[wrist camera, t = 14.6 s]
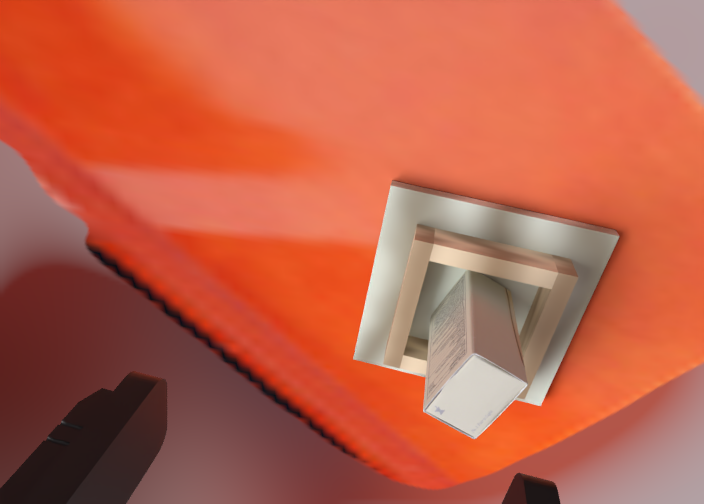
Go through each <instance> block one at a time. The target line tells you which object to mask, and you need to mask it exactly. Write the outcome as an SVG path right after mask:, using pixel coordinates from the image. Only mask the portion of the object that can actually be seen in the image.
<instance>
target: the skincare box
mask: <svg viewBox="0 0 704 504" xmlns="http://www.w3.org/2000/svg"><path fill="white" fill-rule="evenodd" d="M527 385H528V382H527V376H526V371H525V366H524V360H523V355H522V349H521V344H520V339H519V333H518V327H517V322H516V317H515V311H514V306H513V301H512V295H511V292H510V291H509V290H508V289H506V288H505V287H503V286H501V285H500V284H498V283H496V282H495V281H493V280H491V279H490V278H488V277H486V276H485V275H483V274H481V273H479V272H475V271H470V270H466V272H465V273H464V274H463V275H462V276H461V278H460V279H459V280H458V281H457V282H456V284H455V285H454V286H453V288H452V289H451V290H450V291H449V293H448V294H447V295H446V296H445V298H444V299H443V300H442V302H441V303H440V304H439V305H438V307H437V308H436V310H435V311H434V312H433V314H432V315H431V318H430V331H429V343H428V356H427V368H426V381H425V394H424V405H423V412H425V413H427V414H429V415H431V416H432V417H434V418H436V419H438V420H439V421H441V422H443V423H445V424H447V425H449V426H450V427H452V428H454V429H456V430H458V431H460V432H461V433H463V434H465V435H467V436H469V437H471V438H473V439H476V438H477V437H478V436H479V435H480V434H481V433H482V432H483V431H484V430H486V429H487V428H488V427H489V426H490V425H491V424H492V423H493V421H495V420H496V419H497V418H498V417H499V416H500V414H501V413H502V412H503V411H504V410H505V409H506V408H507V407H508V406H509V405H510V404H511V403H512V402H513V401H514V400H515V399H516V398H517V397H518V396H519V394H520V393H521V392H522V391H523V390H524V389H525V388H526V387H527Z"/></svg>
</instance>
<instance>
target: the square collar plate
mask: <svg viewBox="0 0 704 504" xmlns="http://www.w3.org/2000/svg"><path fill="white" fill-rule="evenodd" d="M619 237H620V236H619V235H618V233H617V232H616V230H614V229H609V228H605V227H600V226H596V225H591V224H587V223H582V222H578V221H573V220H569V219H564V218H559V217H555V216H550V215H546V214H541V213H537V212H532V211H528V210H523V209H519V208H514V207H510V206H505V205H501V204H496V203H492V202H487V201H483V200H478V199H474V198H469V197H465V196H460V195H456V194H451V193H447V192H442V191H438V190H433V189H429V188H424V187H420V186H415V185H411V184H406V183H402V182H397V181H393V180H392V183H391V187H390V191H389V196H388V201H387V205H386V210H385V215H384V219H383V224H382V228H381V233H380V238H379V242H378V247H377V251H376V256H375V261H374V265H373V270H372V275H371V279H370V284H369V288H368V293H367V298H366V302H365V307H364V311H363V316H362V321H361V325H360V330H359V335H358V339H357V344H356V348H355V353H354V358H353V359H355V360H359V361H363V362H367V363H371V364H375V365H379V366H383V367H387V368H391V369H395V370H399V371H403V372H407V373H411V374H415V375H419V376H423V377H426V368H427V356H428V343H429V331H430V318H431V315H432V314H433V312H434V311H435V310H436V308H437V307H438V305H439V304H440V303H441V302H442V300H443V299H444V298H445V296H446V295H447V294H448V293H449V291H450V290H451V289H452V288H453V286H454V285H455V284H456V282H457V281H458V280H459V279H460V278H461V276H462V275H463V274H464V273H465V272H466V270H470V271H475V272H479V273H481V274H483V275H485V276H486V277H488V278H490V279H491V280H493V281H495V282H496V283H498V284H500V285H501V286H503V287H505V288H506V289H508V290H509V291H510V292H511V295H512V301H513V306H514V311H515V317H516V322H517V327H518V333H519V339H520V344H521V349H522V355H523V360H524V366H525V371H526V376H527V382H528V385H527V387H526V388H525V389H524V390H523V391H522V392H521V393H520V394H519V396H518V397H517V398H516V399H515V400H519V401H523V402H527V403H531V404H535V405H539V406H541V404H542V402H543V400H544V398H545V396H546V393H547V391H548V389H549V387H550V385H551V383H552V380H553V378H554V376H555V374H556V372H557V370H558V368H559V365H560V363H561V361H562V359H563V357H564V355H565V353H566V350H567V348H568V346H569V344H570V342H571V340H572V338H573V335H574V333H575V331H576V329H577V327H578V325H579V323H580V320H581V318H582V316H583V314H584V312H585V310H586V307H587V305H588V303H589V301H590V299H591V297H592V295H593V292H594V290H595V288H596V286H597V284H598V282H599V280H600V277H601V275H602V273H603V271H604V269H605V267H606V265H607V262H608V260H609V258H610V256H611V254H612V252H613V250H614V247H615V245H616V243H617V241H618V239H619Z"/></svg>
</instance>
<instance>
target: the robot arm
mask: <svg viewBox="0 0 704 504" xmlns="http://www.w3.org/2000/svg"><path fill="white" fill-rule="evenodd" d="M166 431H167V382H166V380H165V379H162V378H158V377H154V376H150V375H146V374H142V373H138V372H135V371H133V372H131V373H129V374H128V375H127V376H126V377H125V378H124V379H123V381H122V382H121V383H120V384H119V385H118V386H117V388H116V389H115V390H114V391H110V390H107V389H103V388H102V389H100V390H98V391H97V392H95V393H93V394H92V395H90V396H88V397H87V398H85V399H83V400H82V401H80V402H78V403H77V405H76V406H75V407H74V408H73V409H72V410H71V411H70V412H69V413H68V415H67V416H66V417H65V418H64V419H63V420H62V422H61V424H60V425H58V426H57V427H56V428H55V429H54V430H53V431H52V432H51V433H50V434H49V435H48V438H47V440H46V441H43V442H42V443H41V444H40V445H39V447H38V448H37V449H36V450H35V451H34V452H33V453H32V454H31V455H30V456H29V458H28V459H27V460H26V461H25V462H24V463H23V464H22V465H21V467H19V469H18V470H17V471H16V472H15V473H14V474H13V475H12V476H11V477H10V479H9V480H8V481H7V482H6V483H5V484H4V485H3V486H2V487H1V488H0V504H126V503H127V501H128V500H129V498H130V497H131V495H132V493H133V492H134V490H135V489H136V487H137V486H138V484H139V483H140V481H141V479H142V478H143V476H144V475H145V473H146V472H147V470H148V468H149V467H150V465H151V464H152V462H153V461H154V459H155V457H156V456H157V454H158V452H159V451H160V449H161V446H162V444H163V442H164V439H165V435H166ZM502 504H560V499H559V495H558V490H557V487H556V485H555V483H554V482H552V481H548V480H544V479H540V478H537V477H533V476H529V475H525V474H521V473H517V474H516V475H515V477H514V479H513V481H512V483H511V485H510V487H509V489H508V491H507V493H506V495H505V498H504V500H503V502H502Z"/></svg>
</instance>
